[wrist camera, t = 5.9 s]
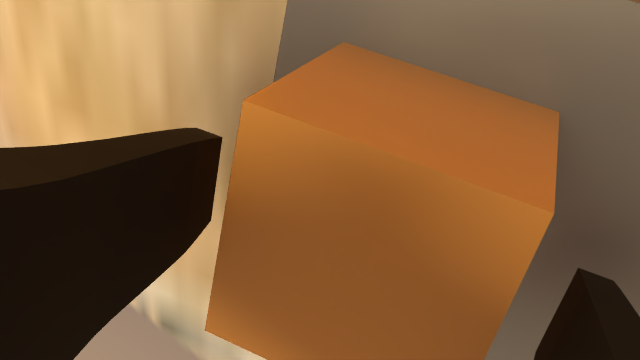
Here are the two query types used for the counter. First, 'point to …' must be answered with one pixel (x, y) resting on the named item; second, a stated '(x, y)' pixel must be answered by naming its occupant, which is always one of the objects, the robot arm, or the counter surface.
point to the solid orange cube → (379, 213)
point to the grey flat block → (535, 87)
